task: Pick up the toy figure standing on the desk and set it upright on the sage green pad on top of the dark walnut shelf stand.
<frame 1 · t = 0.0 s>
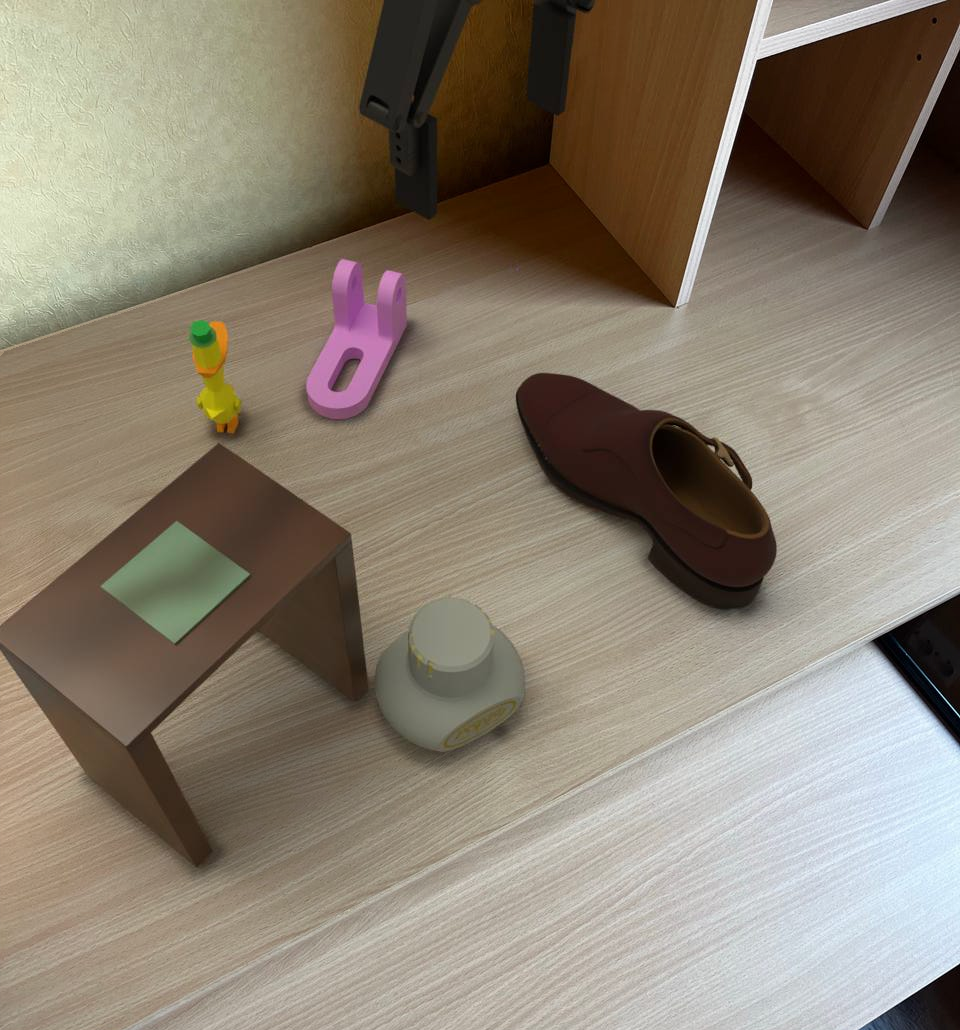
hand: (483, 155, 71), 28 cm above the table, tool pointing down, fingers open, 13 cm apart
air freshener: (449, 700, 83), on the table
bracket: (354, 367, 99), on the table
toy figure: (228, 424, 95), on the table
shelf: (231, 730, 80), on the table
dress shoe: (631, 500, 93), on the table
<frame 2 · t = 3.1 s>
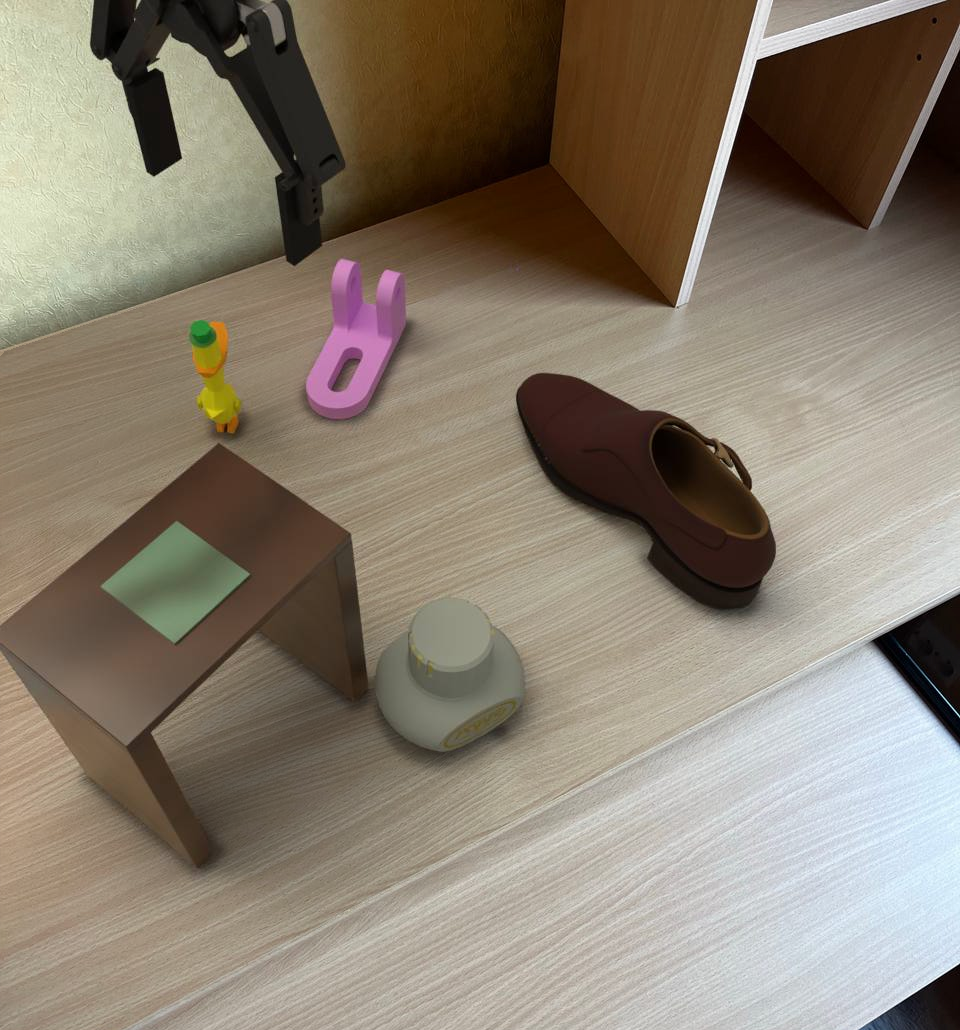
hand: (232, 208, 76), 22 cm above the table, tool pointing down, fingers open, 13 cm apart
nothing on the table moved.
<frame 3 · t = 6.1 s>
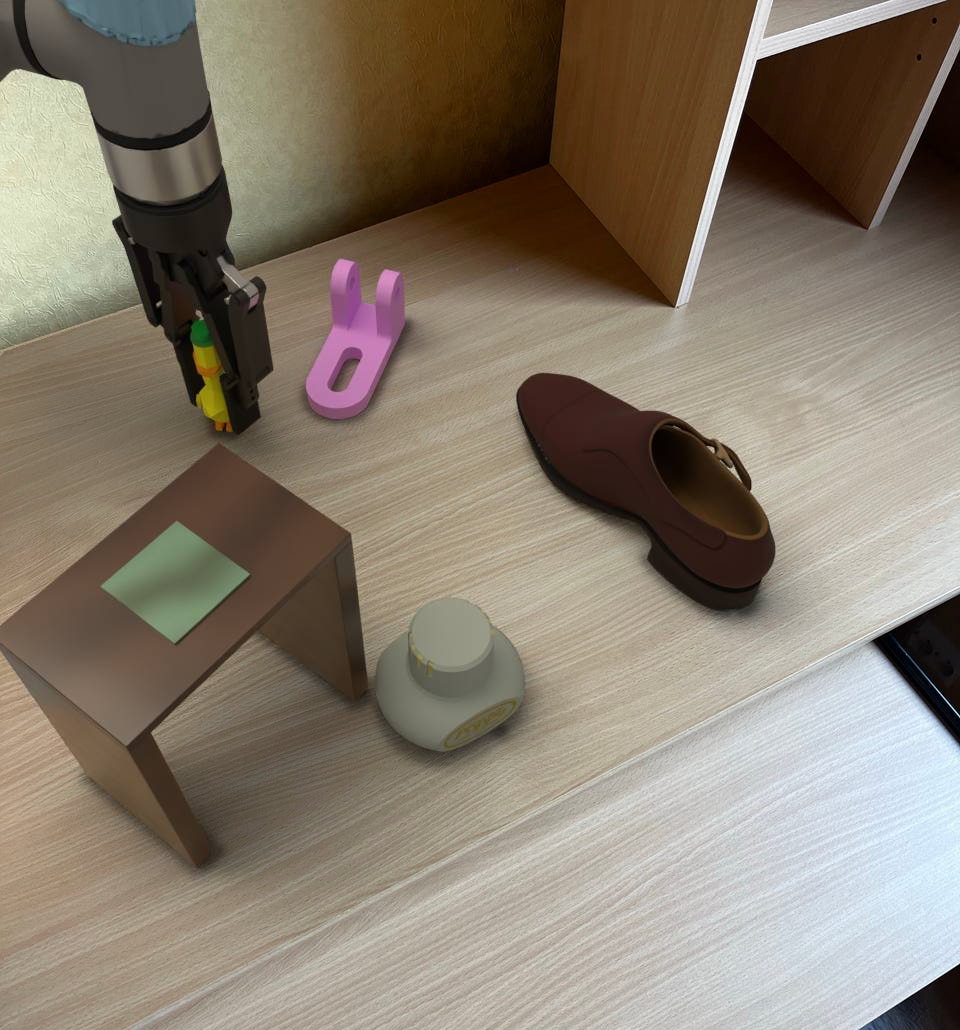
hand: (225, 409, 94), 2 cm above the table, tool pointing down, fingers closed on toy figure, 4 cm apart
toy figure: (227, 422, 95), on the table, touching gripper
everything else where it was.
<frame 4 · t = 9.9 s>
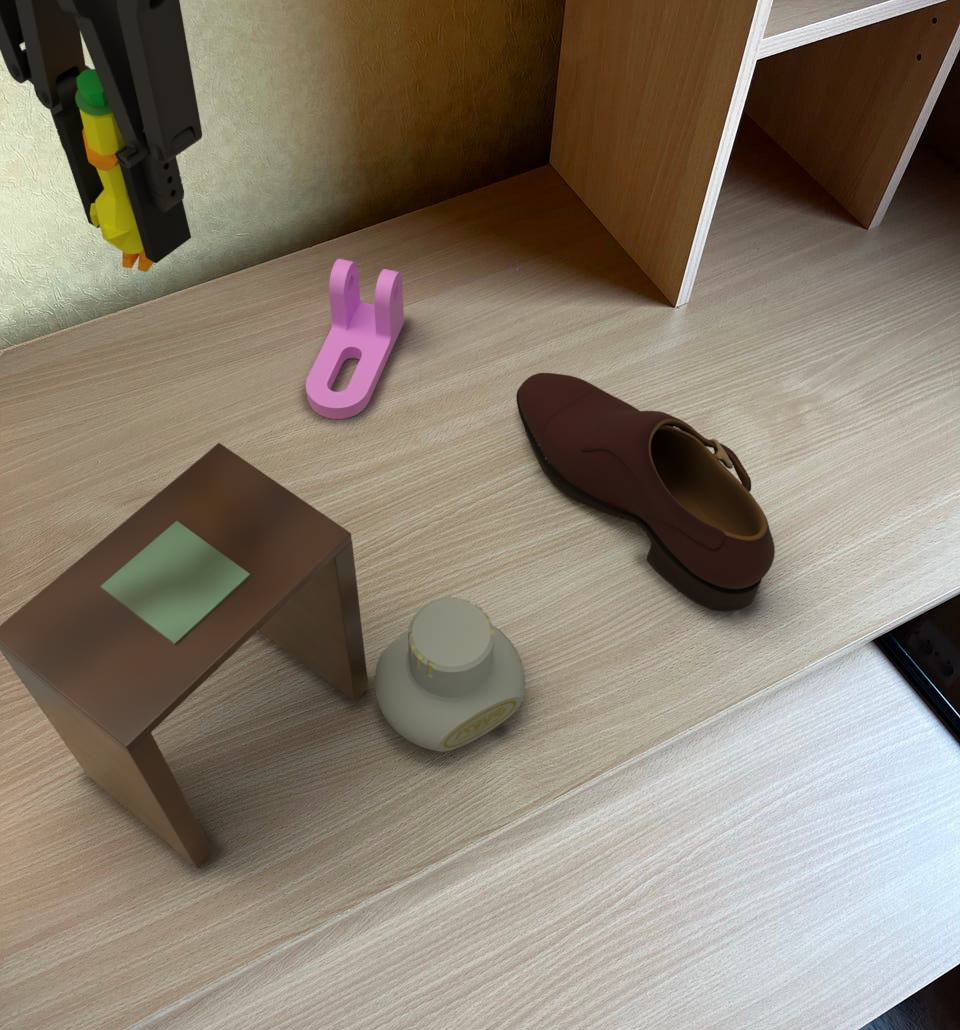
hand: (139, 229, 61), 32 cm above the table, tool pointing down, fingers closed on toy figure, 4 cm apart
toy figure: (141, 257, 63), point 29 cm above the table, touching gripper
everything else where it was.
when the fingers open (23 cm above the table, at t = 13.9 s): toy figure stays where it is, resting on shelf.
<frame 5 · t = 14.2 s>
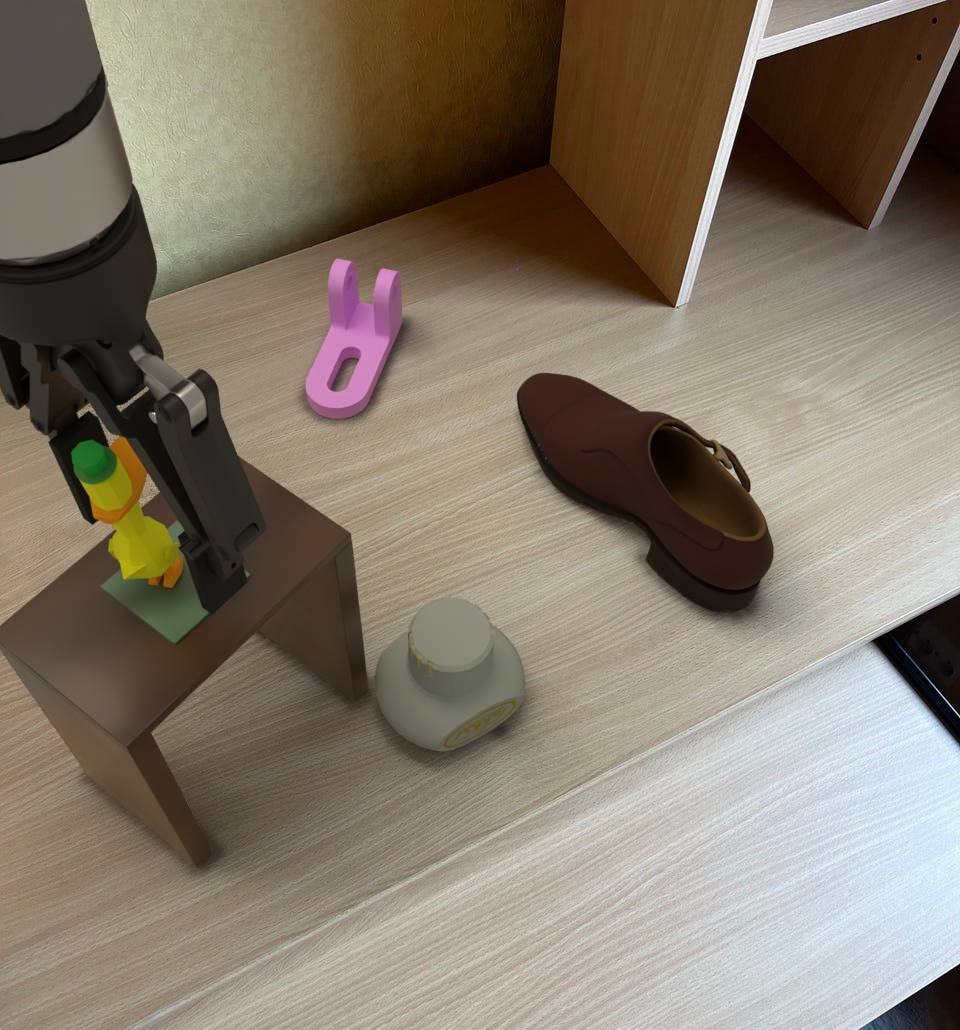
hand: (164, 549, 60), 23 cm above the table, tool pointing down, fingers open, 9 cm apart
toy figure: (168, 570, 63), point 20 cm above the table, touching shelf
everything else where it was.
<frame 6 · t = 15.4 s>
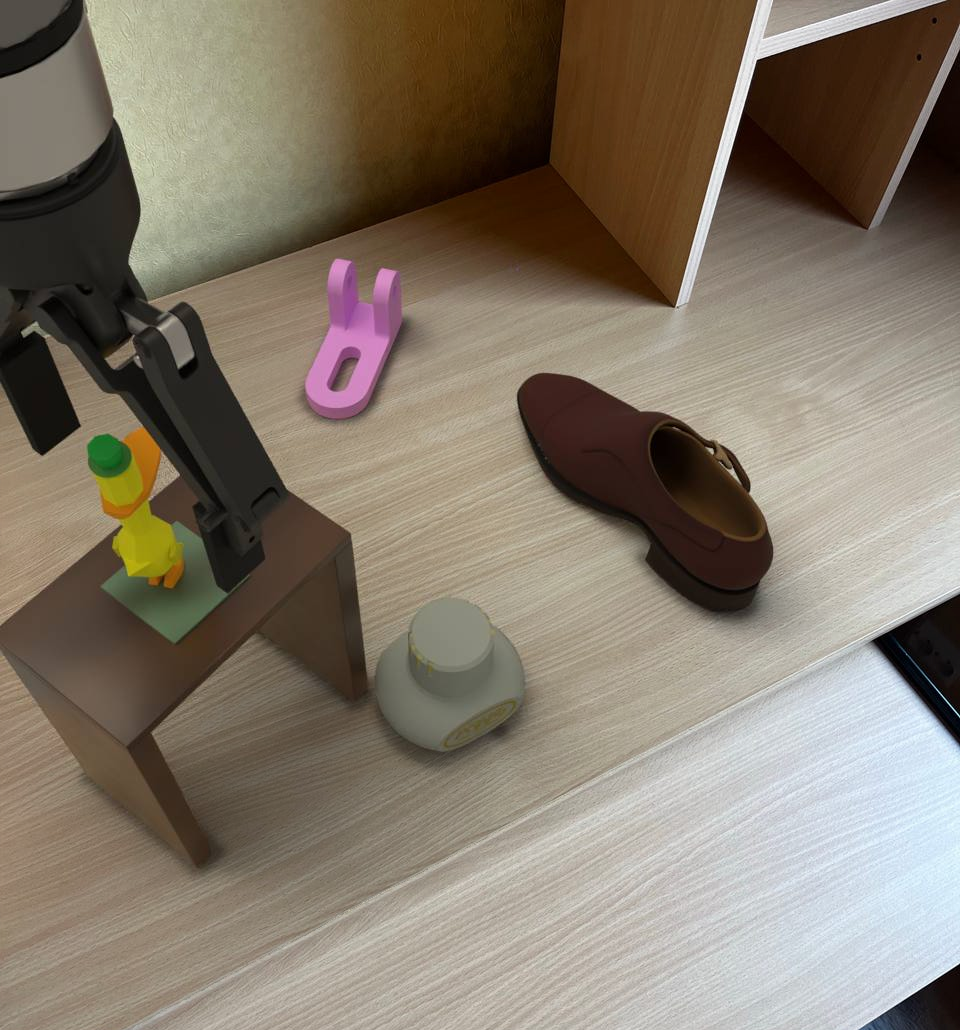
hand: (146, 503, 57), 27 cm above the table, tool pointing down, fingers open, 13 cm apart
nothing on the table moved.
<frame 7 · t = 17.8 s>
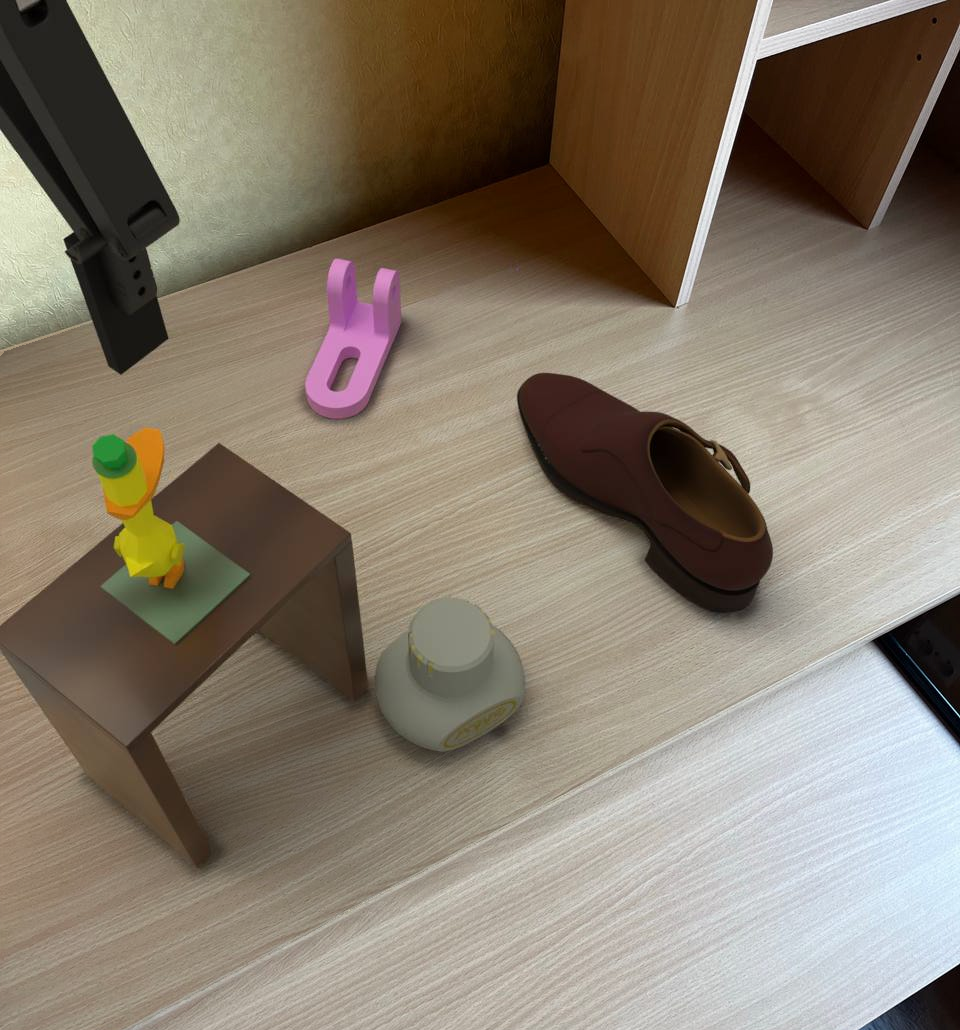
hand: (30, 279, 48), 39 cm above the table, tool pointing down, fingers open, 13 cm apart
nothing on the table moved.
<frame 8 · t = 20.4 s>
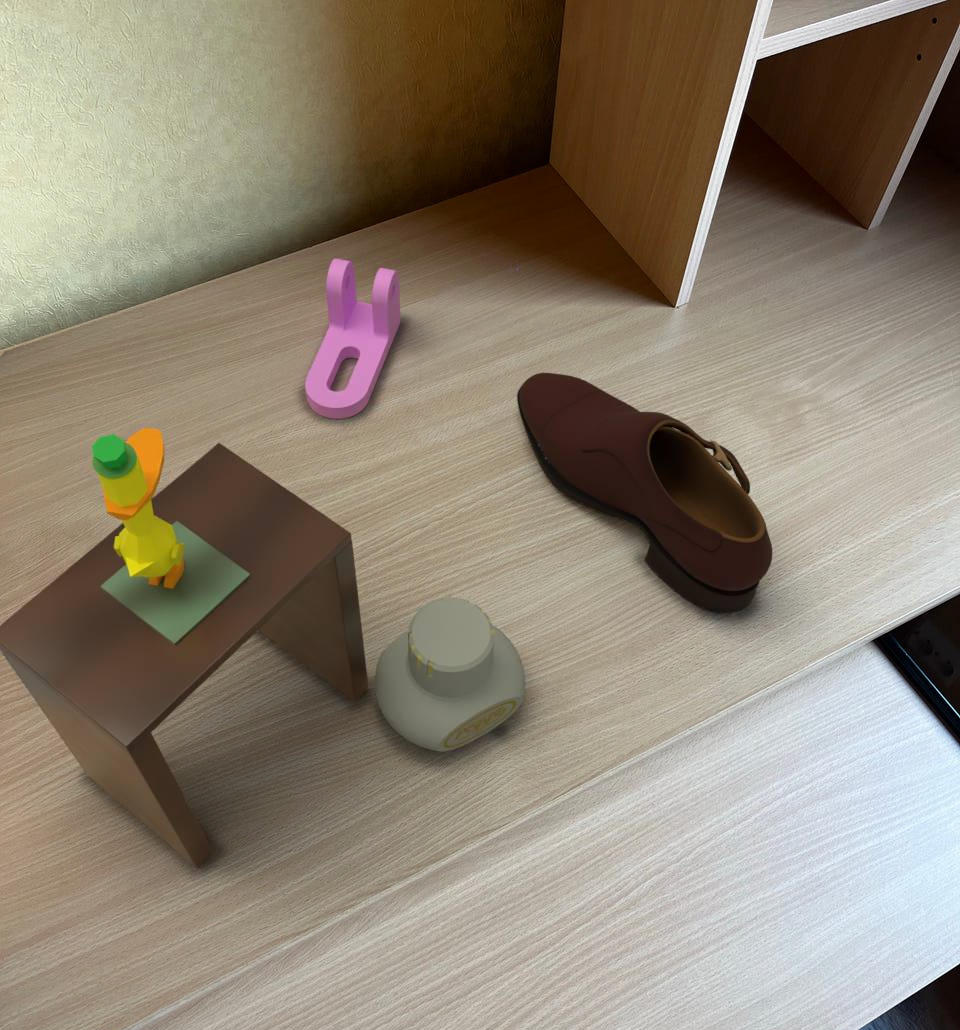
nothing on the table moved.
at the end: toy figure inside the target area on the shelf (0.8 cm from its centre), point 20.0 cm above the shelf's base; toy figure tilted 0° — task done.
